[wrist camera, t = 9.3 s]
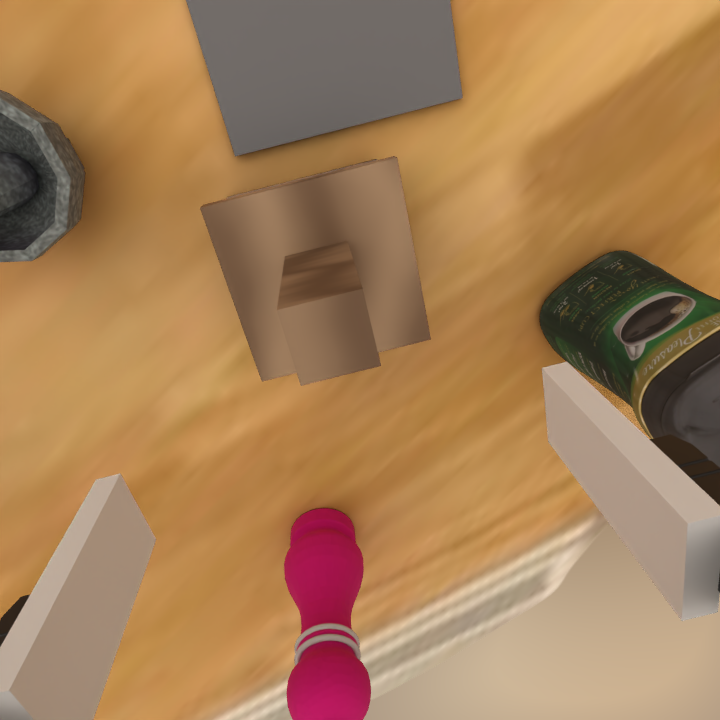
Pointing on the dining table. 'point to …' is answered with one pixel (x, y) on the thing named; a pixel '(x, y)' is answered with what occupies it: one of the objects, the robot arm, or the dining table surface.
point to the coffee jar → (643, 344)
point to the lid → (322, 271)
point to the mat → (323, 63)
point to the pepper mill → (326, 619)
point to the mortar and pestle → (35, 182)
